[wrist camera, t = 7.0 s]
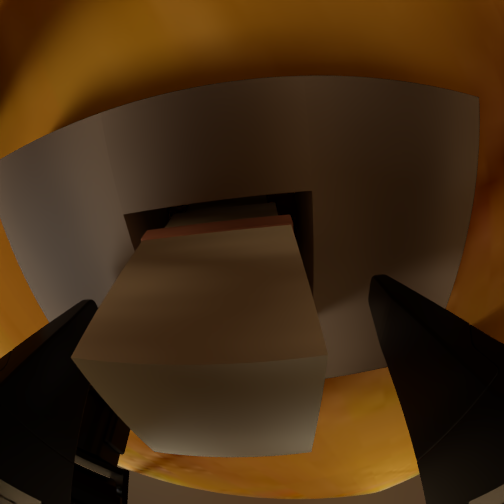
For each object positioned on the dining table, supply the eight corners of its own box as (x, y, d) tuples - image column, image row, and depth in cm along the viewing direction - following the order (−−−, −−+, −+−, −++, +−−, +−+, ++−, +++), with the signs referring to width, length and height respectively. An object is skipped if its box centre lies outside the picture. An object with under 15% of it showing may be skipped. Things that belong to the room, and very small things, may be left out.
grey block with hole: (110, 332, 16) (89, 379, 12) (41, 145, 10) (-14, 168, 7) (399, 307, 15) (425, 356, 12) (420, 92, 9) (478, 97, 6)
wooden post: (196, 274, 14) (153, 451, 6) (177, 191, 12) (67, 355, 4) (283, 266, 14) (312, 452, 6) (277, 179, 11) (331, 352, 4)
